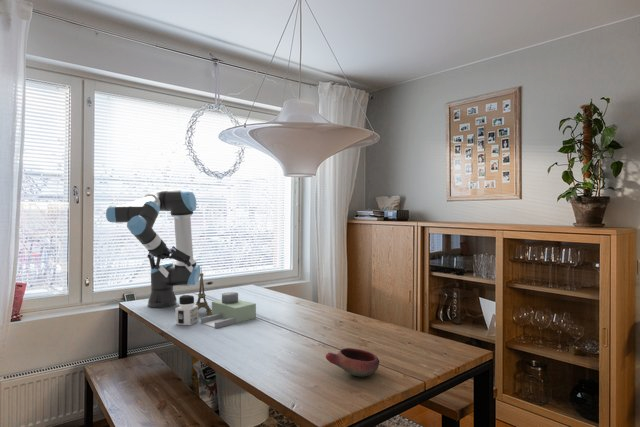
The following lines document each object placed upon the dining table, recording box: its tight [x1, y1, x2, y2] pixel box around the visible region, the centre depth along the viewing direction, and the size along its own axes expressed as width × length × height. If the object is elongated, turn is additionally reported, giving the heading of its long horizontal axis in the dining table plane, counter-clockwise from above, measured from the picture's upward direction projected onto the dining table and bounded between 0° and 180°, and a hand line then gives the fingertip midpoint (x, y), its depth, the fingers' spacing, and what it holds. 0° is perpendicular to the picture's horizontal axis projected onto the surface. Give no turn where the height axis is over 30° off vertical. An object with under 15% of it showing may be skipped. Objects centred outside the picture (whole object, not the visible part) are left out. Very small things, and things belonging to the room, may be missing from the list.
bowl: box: [325, 347, 380, 378], centre depth 133 cm, size 16×13×8 cm
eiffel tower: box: [195, 265, 212, 316], centre depth 212 cm, size 11×11×25 cm
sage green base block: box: [200, 291, 257, 329], centre depth 201 cm, size 20×23×11 cm
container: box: [174, 294, 199, 326], centre depth 195 cm, size 8×8×13 cm
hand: (179, 272), depth 199 cm, fingers open, 13 cm apart
